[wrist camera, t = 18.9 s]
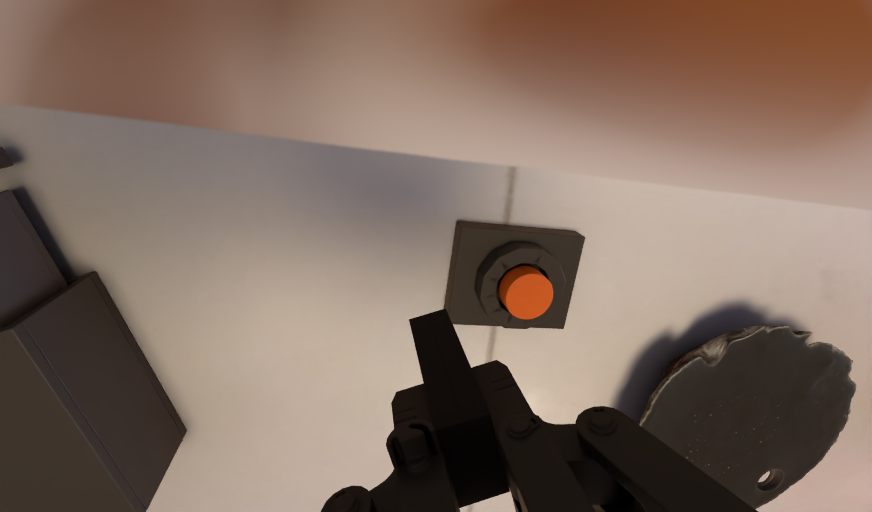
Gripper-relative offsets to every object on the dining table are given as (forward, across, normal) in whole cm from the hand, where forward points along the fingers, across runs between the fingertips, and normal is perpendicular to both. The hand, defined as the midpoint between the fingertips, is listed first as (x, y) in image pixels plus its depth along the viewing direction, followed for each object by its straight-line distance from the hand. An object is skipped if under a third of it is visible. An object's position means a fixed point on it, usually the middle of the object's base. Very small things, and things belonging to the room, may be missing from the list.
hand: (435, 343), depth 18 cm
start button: (+15, +8, -6) cm, 18 cm away
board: (+19, +24, -26) cm, 40 cm away
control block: (+18, +8, -6) cm, 20 cm away
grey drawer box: (+18, -27, -4) cm, 33 cm away
